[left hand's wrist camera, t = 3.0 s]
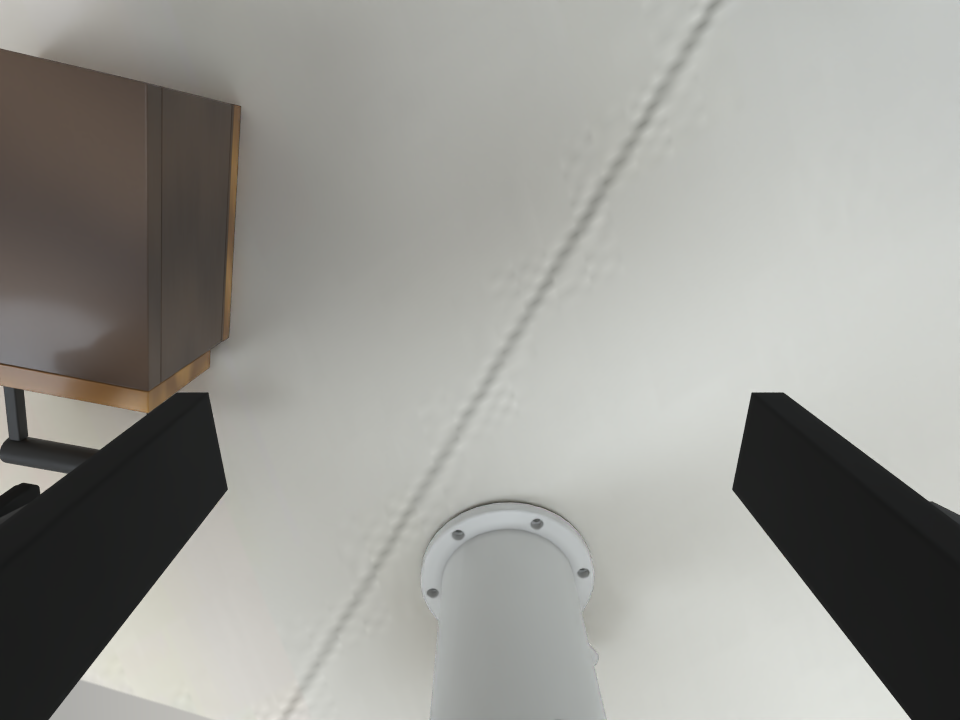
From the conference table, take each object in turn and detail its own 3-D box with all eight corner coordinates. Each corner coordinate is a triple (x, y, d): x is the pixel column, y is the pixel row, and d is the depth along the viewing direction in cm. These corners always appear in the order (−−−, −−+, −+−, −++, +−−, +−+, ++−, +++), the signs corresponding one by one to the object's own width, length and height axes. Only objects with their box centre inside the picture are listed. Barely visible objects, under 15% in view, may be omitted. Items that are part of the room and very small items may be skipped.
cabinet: (228, 337, 32) (148, 392, 24) (52, 302, 31) (-90, 347, 24) (240, 106, 28) (147, 82, 20) (34, 57, 27) (-148, 13, 19)
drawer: (206, 452, 34) (149, 512, 28) (58, 425, 33) (-34, 481, 27) (217, 164, 28) (147, 164, 22) (36, 123, 27) (-89, 112, 21)
